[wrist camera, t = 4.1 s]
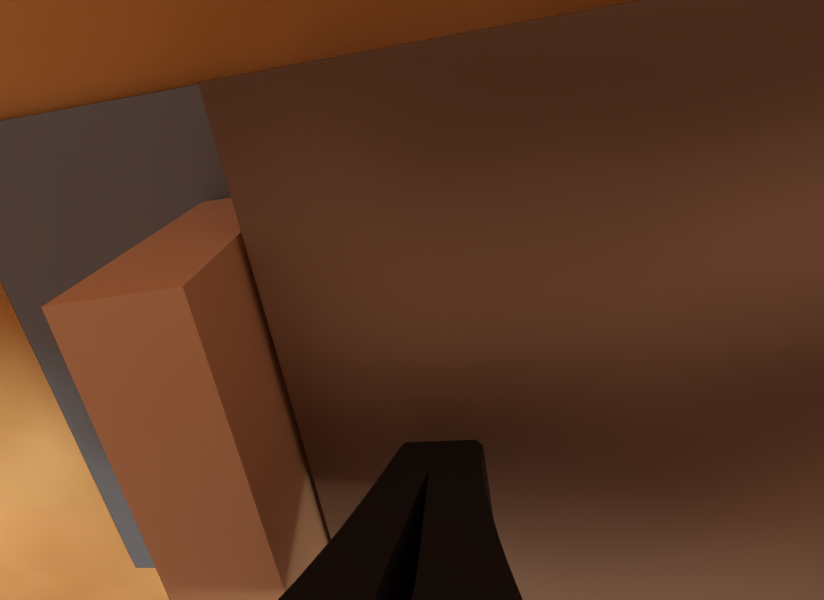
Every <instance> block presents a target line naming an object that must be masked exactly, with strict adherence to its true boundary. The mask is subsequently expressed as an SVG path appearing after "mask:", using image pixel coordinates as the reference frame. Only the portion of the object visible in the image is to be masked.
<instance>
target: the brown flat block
mask: <svg viewBox="0 0 824 600" xmlns="http://www.w3.org/2000/svg"><path fill="white" fill-rule="evenodd" d="M198 86H199V89H200V93H201V96H202V100H203V103H204V106H205V110H206V113H207V117H208V120H209V124H210V127H211V130H212V134H213V137H214V141H215V144H216V148H217V151H218V154H219V158H220V161H221V165H222V168H223V172H224V175H225V178H226V182H227V185H228V189H229V192H230V195H231V199H232V202H233V206H234V209H235V213H236V216H237V219H238V223H239V226H240V230H241V233H242V237H243V240H244V243H245V247H246V250H247V254H248V257H249V261H250V264H251V267H252V271H253V274H254V278H255V281H256V285H257V288H258V291H259V295H260V298H261V302H262V305H263V308H264V312H265V315H266V319H267V322H268V326H269V329H270V332H271V336H272V339H273V343H274V346H275V350H276V353H277V356H278V360H279V363H280V367H281V370H282V374H283V377H284V380H285V384H286V387H287V391H288V394H289V397H290V401H291V404H292V408H293V411H294V415H295V418H296V421H297V425H298V428H299V432H300V435H301V439H302V442H303V445H304V449H305V452H306V456H307V459H308V463H309V466H310V469H311V473H312V476H313V480H314V483H315V486H316V490H317V493H318V497H319V500H320V504H321V507H322V510H323V514H324V517H325V521H326V524H327V528H328V531H329V534H330V538H331V539H332V538H333V536H334V535H335V534H336V533H337V532H338V530H339V529H340V528H341V526H342V525H343V524H344V523H345V521H346V520H347V519H348V517H349V516H350V515H351V514H352V512H353V511H354V510H355V508H356V507H357V506H358V505H359V503H360V502H361V501H362V499H363V498H364V497H365V495H366V494H367V493H368V491H369V490H370V488H371V487H372V486H373V484H374V483H375V482H376V480H377V479H378V477H379V476H380V475H381V473H382V472H383V470H384V469H385V468H386V466H387V465H388V463H389V462H390V461H391V459H392V458H393V456H394V455H395V453H396V452H397V451H398V449H399V448H400V447H401V446H402V445H403V444H404V443H405V442H428V441H454V440H477V441H478V442H479V443H481V444H482V445H483V448H484V455H485V462H486V469H487V476H488V483H489V490H490V497H491V504H492V511H493V518H494V523H495V526H496V529H497V532H498V536H499V539H500V542H501V545H502V548H503V550H504V553H505V556H506V559H507V561H508V564H509V567H510V569H511V572H512V574H513V577H514V579H515V582H516V584H517V587H518V589H519V592H520V594H521V596H522V599H523V600H824V0H639V1H634V2H629V3H623V4H618V5H612V6H607V7H602V8H596V9H591V10H586V11H580V12H575V13H569V14H564V15H559V16H553V17H548V18H543V19H537V20H532V21H526V22H521V23H516V24H510V25H505V26H500V27H494V28H489V29H484V30H478V31H473V32H467V33H462V34H457V35H451V36H446V37H441V38H435V39H430V40H424V41H419V42H414V43H408V44H403V45H398V46H392V47H387V48H382V49H376V50H371V51H365V52H360V53H355V54H349V55H344V56H339V57H333V58H328V59H322V60H317V61H312V62H306V63H301V64H296V65H290V66H285V67H279V68H274V69H269V70H263V71H258V72H253V73H247V74H242V75H237V76H231V77H226V78H220V79H215V80H210V81H204V82H199V83H198Z"/></svg>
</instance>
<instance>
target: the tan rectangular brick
mask: <svg viewBox="0 0 824 600" xmlns="http://www.w3.org/2000/svg"><path fill="white" fill-rule="evenodd" d="M41 308H42V310H43V312H44V315H45V317H46V319H47V321H48V324H49V326H50V328H51V330H52V333H53V335H54V337H55V340H56V342H57V344H58V346H59V349H60V351H61V353H62V355H63V358H64V360H65V362H66V365H67V367H68V369H69V371H70V374H71V376H72V378H73V381H74V383H75V385H76V387H77V390H78V392H79V394H80V396H81V399H82V401H83V403H84V406H85V408H86V410H87V412H88V415H89V417H90V419H91V422H92V424H93V426H94V428H95V431H96V433H97V435H98V437H99V440H100V442H101V444H102V447H103V449H104V451H105V453H106V456H107V458H108V460H109V463H110V465H111V467H112V469H113V472H114V474H115V476H116V478H117V481H118V483H119V485H120V488H121V490H122V492H123V494H124V497H125V499H126V501H127V504H128V506H129V508H130V510H131V513H132V515H133V517H134V519H135V522H136V524H137V526H138V529H139V531H140V533H141V535H142V538H143V540H144V542H145V545H146V547H147V549H148V551H149V554H150V556H151V558H152V560H153V563H154V565H155V567H156V570H157V572H158V574H159V576H160V579H161V581H162V583H163V586H164V588H165V590H166V592H167V595H168V597H169V599H170V600H278V599H279V598H280V597H281V596H282V594H283V593H284V592H285V591H286V590H287V589H288V588H289V587H290V586H291V585H292V584H293V583H294V582H295V581H296V579H297V578H298V577H299V576H300V575H301V574H302V573H303V571H304V570H305V569H306V568H307V567H308V566H309V565H310V563H311V562H312V561H313V560H314V559H315V558H316V556H317V555H318V554H319V553H320V552H321V551H322V549H323V548H324V547H325V546H326V545H327V544H328V542H329V541H330V540H331V538H330V534H329V531H328V528H327V524H326V521H325V517H324V514H323V510H322V507H321V504H320V500H319V497H318V493H317V490H316V486H315V483H314V480H313V476H312V473H311V469H310V466H309V463H308V459H307V456H306V452H305V449H304V445H303V442H302V439H301V435H300V432H299V428H298V425H297V421H296V418H295V415H294V411H293V408H292V404H291V401H290V397H289V394H288V391H287V387H286V384H285V380H284V377H283V374H282V370H281V367H280V363H279V360H278V356H277V353H276V350H275V346H274V343H273V339H272V336H271V332H270V329H269V326H268V322H267V319H266V315H265V312H264V308H263V305H262V302H261V298H260V295H259V291H258V288H257V285H256V281H255V278H254V274H253V271H252V267H251V264H250V261H249V257H248V254H247V250H246V247H245V243H244V240H243V237H242V233H241V230H240V226H239V223H238V219H237V216H236V213H235V209H234V206H233V202H232V199H231V197H230V198H224V199H218V200H211V201H205V202H201V203H200V204H198V205H197V206H195V207H194V208H192V209H191V210H189V211H188V212H186V213H185V214H183V215H182V216H180V217H178V218H177V219H175V220H174V221H172V222H171V223H169V224H168V225H166V226H165V227H163V228H162V229H160V230H159V231H157V232H156V233H154V234H152V235H151V236H149V237H148V238H146V239H145V240H143V241H142V242H140V243H139V244H137V245H136V246H134V247H133V248H131V249H129V250H128V251H126V252H125V253H123V254H122V255H120V256H119V257H117V258H116V259H114V260H113V261H111V262H110V263H108V264H107V265H105V266H103V267H102V268H100V269H99V270H97V271H96V272H94V273H93V274H91V275H90V276H88V277H87V278H85V279H84V280H82V281H80V282H79V283H77V284H76V285H74V286H73V287H71V288H70V289H68V290H67V291H65V292H64V293H62V294H61V295H59V296H57V297H56V298H54V299H53V300H51V301H50V302H48V303H47V304H45V305H44V306H42V307H41Z"/></svg>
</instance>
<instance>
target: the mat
mask: <svg viewBox="0 0 824 600" xmlns="http://www.w3.org/2000/svg"><path fill="white" fill-rule="evenodd" d="M230 197H231V195H230V192H229V189H228V185H227V182H226V178H225V175H224V172H223V168H222V165H221V161H220V158H219V154H218V151H217V148H216V144H215V141H214V137H213V134H212V130H211V127H210V124H209V120H208V117H207V113H206V110H205V106H204V103H203V100H202V96H201V93H200V89H199V86H198V84H197V85H192V86H187V87H181V88H176V89H170V90H165V91H160V92H154V93H149V94H143V95H138V96H133V97H127V98H122V99H116V100H111V101H106V102H100V103H95V104H90V105H84V106H79V107H73V108H68V109H63V110H57V111H52V112H46V113H41V114H36V115H30V116H25V117H19V118H14V119H9V120H3V121H0V281H1V283H2V286H3V288H4V290H5V292H6V294H7V296H8V298H9V300H10V302H11V305H12V307H13V309H14V311H15V313H16V315H17V317H18V319H19V322H20V324H21V326H22V328H23V330H24V332H25V334H26V336H27V338H28V341H29V343H30V345H31V347H32V349H33V351H34V353H35V355H36V358H37V360H38V362H39V364H40V366H41V368H42V370H43V372H44V374H45V377H46V379H47V381H48V383H49V385H50V387H51V389H52V391H53V393H54V396H55V398H56V400H57V402H58V404H59V406H60V408H61V410H62V413H63V415H64V417H65V419H66V421H67V423H68V425H69V427H70V429H71V432H72V434H73V436H74V438H75V440H76V442H77V444H78V446H79V449H80V451H81V453H82V455H83V457H84V459H85V461H86V463H87V465H88V468H89V470H90V472H91V474H92V476H93V478H94V480H95V482H96V485H97V487H98V489H99V491H100V493H101V495H102V497H103V499H104V501H105V504H106V506H107V508H108V510H109V512H110V514H111V516H112V518H113V521H114V523H115V525H116V527H117V529H118V531H119V533H120V535H121V537H122V540H123V542H124V544H125V546H126V548H127V550H128V552H129V554H130V557H131V559H132V561H133V563H134V565H135V567H136V568H156V567H155V565H154V563H153V560H152V558H151V556H150V554H149V551H148V549H147V547H146V545H145V542H144V540H143V538H142V535H141V533H140V531H139V529H138V526H137V524H136V522H135V519H134V517H133V515H132V513H131V510H130V508H129V506H128V504H127V501H126V499H125V497H124V494H123V492H122V490H121V488H120V485H119V483H118V481H117V478H116V476H115V474H114V472H113V469H112V467H111V465H110V463H109V460H108V458H107V456H106V453H105V451H104V449H103V447H102V444H101V442H100V440H99V437H98V435H97V433H96V431H95V428H94V426H93V424H92V422H91V419H90V417H89V415H88V412H87V410H86V408H85V406H84V403H83V401H82V399H81V396H80V394H79V392H78V390H77V387H76V385H75V383H74V381H73V378H72V376H71V374H70V371H69V369H68V367H67V365H66V362H65V360H64V358H63V355H62V353H61V351H60V349H59V346H58V344H57V342H56V340H55V337H54V335H53V333H52V330H51V328H50V326H49V324H48V321H47V319H46V317H45V315H44V312H43V310H42V308H41V307H42V306H44V305H45V304H47V303H48V302H50V301H51V300H53V299H54V298H56V297H57V296H59V295H61V294H62V293H64V292H65V291H67V290H68V289H70V288H71V287H73V286H74V285H76V284H77V283H79V282H80V281H82V280H84V279H85V278H87V277H88V276H90V275H91V274H93V273H94V272H96V271H97V270H99V269H100V268H102V267H103V266H105V265H107V264H108V263H110V262H111V261H113V260H114V259H116V258H117V257H119V256H120V255H122V254H123V253H125V252H126V251H128V250H129V249H131V248H133V247H134V246H136V245H137V244H139V243H140V242H142V241H143V240H145V239H146V238H148V237H149V236H151V235H152V234H154V233H156V232H157V231H159V230H160V229H162V228H163V227H165V226H166V225H168V224H169V223H171V222H172V221H174V220H175V219H177V218H178V217H180V216H182V215H183V214H185V213H186V212H188V211H189V210H191V209H192V208H194V207H195V206H197V205H198V204H200V203H201V202H205V201H211V200H218V199H224V198H230Z"/></svg>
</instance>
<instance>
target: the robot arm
mask: <svg viewBox="0 0 824 600" xmlns="http://www.w3.org/2000/svg"><path fill="white" fill-rule="evenodd" d="M278 600H523V599H522V596H521V594H520V592H519V589H518V587H517V584H516V582H515V579H514V577H513V574H512V572H511V569H510V567H509V564H508V561H507V559H506V556H505V553H504V550H503V548H502V545H501V542H500V539H499V536H498V532H497V529H496V526H495V523H494V518H493V511H492V504H491V497H490V490H489V483H488V476H487V469H486V462H485V455H484V448H483V445H482V444H481V443H479V442H478V441H477V440H454V441H428V442H405V443H404V444H403V445H402V446H401V447H400V448H399V449H398V451H397V452H396V453H395V455H394V456H393V458H392V459H391V461H390V462H389V463H388V465H387V466H386V468H385V469H384V470H383V472H382V473H381V475H380V476H379V477H378V479H377V480H376V482H375V483H374V484H373V486H372V487H371V488H370V490H369V491H368V493H367V494H366V495H365V497H364V498H363V499H362V501H361V502H360V503H359V505H358V506H357V507H356V508H355V510H354V511H353V512H352V514H351V515H350V516H349V517H348V519H347V520H346V521H345V523H344V524H343V525H342V526H341V528H340V529H339V530H338V532H337V533H336V534H335V535H334V536H333V538H332V539H331V540H330V541H329V542H328V544H327V545H326V546H325V547H324V548H323V549H322V551H321V552H320V553H319V554H318V555H317V556H316V558H315V559H314V560H313V561H312V562H311V563H310V565H309V566H308V567H307V568H306V569H305V570H304V571H303V573H302V574H301V575H300V576H299V577H298V578H297V579H296V581H295V582H294V583H293V584H292V585H291V586H290V587H289V588H288V589H287V590H286V591H285V592H284V593H283V594H282V596H281V597H280V598H279V599H278Z"/></svg>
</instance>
